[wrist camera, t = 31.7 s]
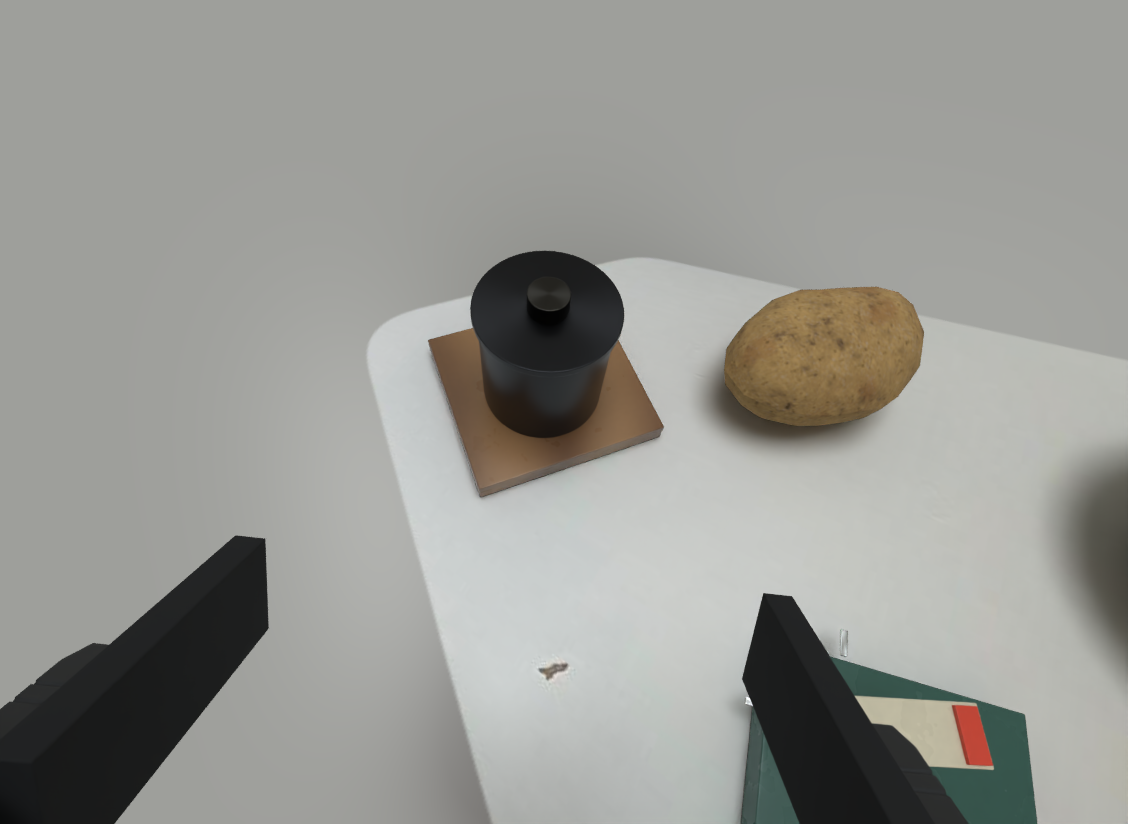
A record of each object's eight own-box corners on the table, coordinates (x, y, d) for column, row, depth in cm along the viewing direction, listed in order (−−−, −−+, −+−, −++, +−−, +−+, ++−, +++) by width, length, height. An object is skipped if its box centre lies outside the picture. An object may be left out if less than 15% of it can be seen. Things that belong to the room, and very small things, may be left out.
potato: (678, 359, 43) (709, 288, 36) (833, 317, 46) (890, 245, 39) (737, 473, 39) (786, 418, 32) (904, 419, 42) (982, 358, 35)
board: (480, 497, 37) (478, 489, 35) (430, 351, 42) (427, 339, 40) (659, 436, 40) (664, 426, 38) (592, 307, 45) (594, 295, 43)
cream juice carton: (788, 754, 29) (857, 762, 23) (781, 699, 30) (845, 694, 24) (902, 760, 29) (999, 770, 23) (891, 706, 30) (980, 702, 25)
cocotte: (497, 456, 36) (491, 376, 28) (466, 349, 40) (452, 250, 32) (622, 424, 38) (651, 339, 30) (581, 324, 42) (597, 224, 33)
